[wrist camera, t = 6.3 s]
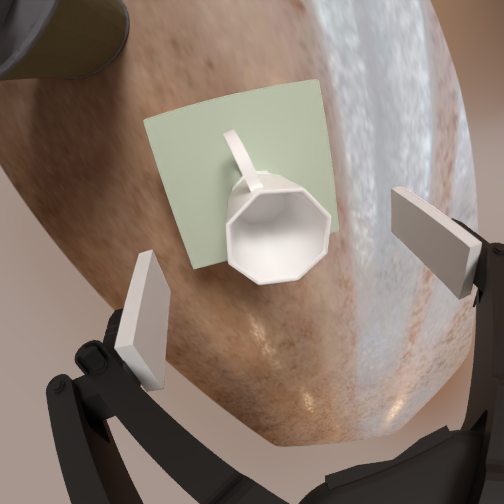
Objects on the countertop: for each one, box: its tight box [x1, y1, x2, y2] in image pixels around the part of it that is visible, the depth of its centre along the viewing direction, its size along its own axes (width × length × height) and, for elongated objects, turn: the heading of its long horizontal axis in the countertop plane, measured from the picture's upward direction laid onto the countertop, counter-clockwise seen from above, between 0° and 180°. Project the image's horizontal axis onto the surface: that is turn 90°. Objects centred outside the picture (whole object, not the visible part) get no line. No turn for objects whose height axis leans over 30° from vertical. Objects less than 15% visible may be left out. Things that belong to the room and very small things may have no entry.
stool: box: [143, 80, 339, 269], centre depth 29 cm, size 14×14×8 cm
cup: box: [223, 129, 331, 285], centre depth 22 cm, size 7×10×8 cm
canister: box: [0, 0, 129, 81], centre depth 14 cm, size 11×10×20 cm
